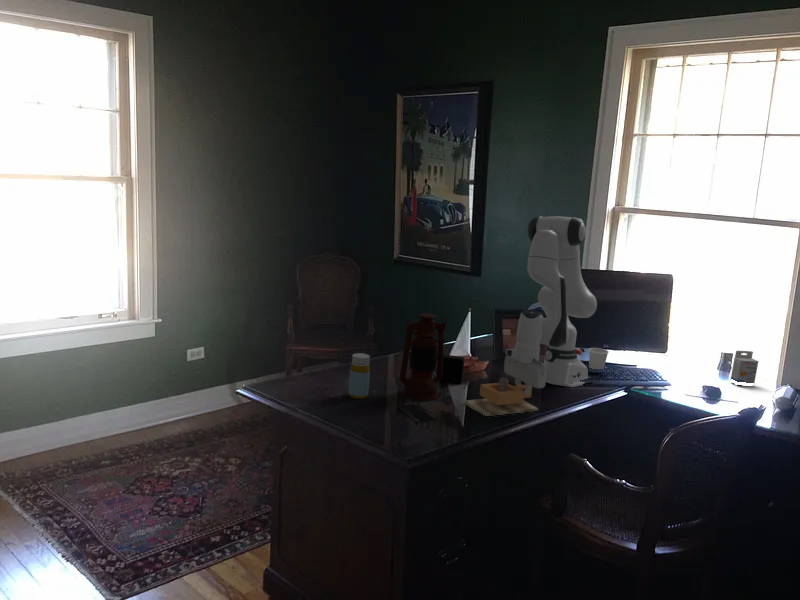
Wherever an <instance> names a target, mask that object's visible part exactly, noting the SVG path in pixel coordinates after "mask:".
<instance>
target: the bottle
mask: <svg viewBox="0 0 800 600" xmlns="http://www.w3.org/2000/svg"><path fill="white" fill-rule="evenodd" d="M370 359H371V356H370V354H368V353H361V352H360V353H359V352H357V353H353V354H352V356H351V365H350V368H349V380H348V381H349V382H348V396H349V397H350V398H352V399H355V400H362V399H363V400H364V399H366V398H367V397H369V387H370V374H371V368H370V367H371V366H370V362H371V361H370Z"/></svg>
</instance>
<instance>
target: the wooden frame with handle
mask: <svg viewBox="0 0 800 600" xmlns="http://www.w3.org/2000/svg"><path fill="white" fill-rule="evenodd" d="M525 387H526V386H525V384H521V385H518V386H516V385H512V384H510V383H508V385H507V389H506V391H504V392H499V390H500V383H499V382H494V383H493V382H492V383H481V384H480V388H479V395H480V396H481V397H482V398H483V399H488V400H489V401H491V402H493V403H494V404H496V405H504V404H515V403H523V401H524V399H526V398H528V399H529V398H532V394H533V393H532V391H533V386H532V387H531V389H530V390H529V394H528V395H524V391H523V389H525Z"/></svg>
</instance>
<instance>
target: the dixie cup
mask: <svg viewBox="0 0 800 600" xmlns="http://www.w3.org/2000/svg"><path fill="white" fill-rule="evenodd" d="M609 352H610V351H608V350H607V349H603V348H599V347H590V348H588V354H589V355H588V358H589V359H588V369H589V368H592V369H603V370H604V369H605V365H606V361H607V357H608V354H609Z"/></svg>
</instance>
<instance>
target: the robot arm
mask: <svg viewBox="0 0 800 600" xmlns="http://www.w3.org/2000/svg"><path fill="white" fill-rule="evenodd" d="M586 231H587V229H586V223H585V221H583V219H581V218H578V217H574V216H573V217H570V216H569V217H568V216H563V215H556V216H542V215H541V216H535V217H533V218H531V220H530V221H529V223H528V226H527V237H528V239H529V241H530V242H531V244H530V247H529V248H530V249H529V252H528V258H527V266H526V268H527V269H526V270H527V272H528V275H529V277H530V278H531V279H532V280H533V281H535V282H536V283H537V284H539V285H541V286H543V287H541V288H540V290H539V291H538V294H537V302H538V304H539V306H540V307H541V309H542V310H543V312H544V313H545V315H546V317H543V313H542V312H540V311H538V310H535V309H525V310H522V311H521V313H520V316H519V319H518V320H517V321H516V326H515V333H514V334H515V336H516V343H515V346H514V348H507V349H505V355H506V356H505V357H504V364H503V371H504V373H505V374H506V375H508V376H510V377H512V378H514V382H515V386H518V385H522V383H524V385H525V386H526V387H525V389H523V391H524V395H528V394H529V390H530V389H531V387H532V388H535V389H544V388H545V387H546V383H548V384H551V385H555V386H564V387H566V388H575V387H580V386H584V385H583V384H584V383H585V382H582V381H581V382H580V380H584V379H587V378H588V377H589V371H588V370H589V369H588V367H587V366H586V365H585V364H584V363H583V362H582V361H581V360H580V359H579V357H578V355H579V356H582V354H583V350H581V349H576V341H577V335H578V334H577V333H578V332H577V329H576V327H575V325H574V324H572V322H571V321H570V317H573V318H579V319H581V318H582V319H587V318H591V317H592V316H593V315H594V314H595V312H596V311H597V308H598V301H597V298H596V296H595V295H594V294H593V293H592V291H590V290H589V288H588V287H587V285H586V283H585V282H584V279H583V276H582V271H581V259H580V258H581V257H580V256H581V251H580V250H581V249H580V245H581V244H582V243H583V242H584V240H585V239H586V234H587V232H586ZM569 316H570V317H569ZM540 345H545V351H544V356H545V358H544V361H543V362H542V361H540V353H541V346H540Z"/></svg>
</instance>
